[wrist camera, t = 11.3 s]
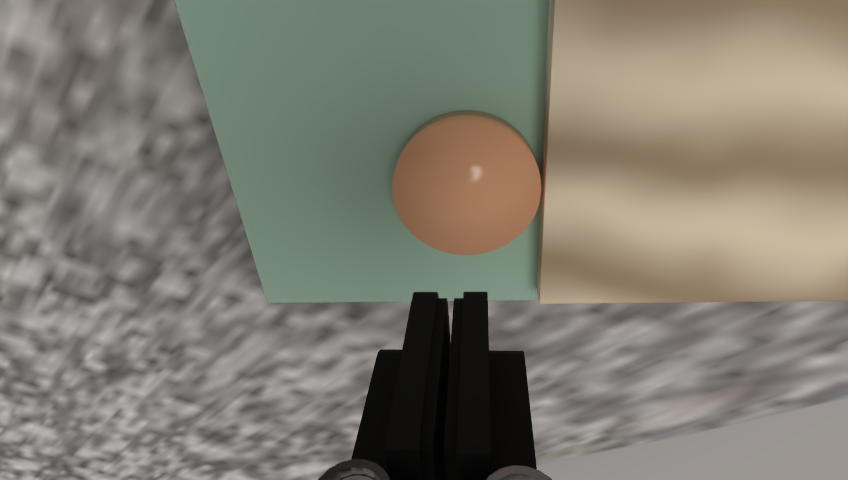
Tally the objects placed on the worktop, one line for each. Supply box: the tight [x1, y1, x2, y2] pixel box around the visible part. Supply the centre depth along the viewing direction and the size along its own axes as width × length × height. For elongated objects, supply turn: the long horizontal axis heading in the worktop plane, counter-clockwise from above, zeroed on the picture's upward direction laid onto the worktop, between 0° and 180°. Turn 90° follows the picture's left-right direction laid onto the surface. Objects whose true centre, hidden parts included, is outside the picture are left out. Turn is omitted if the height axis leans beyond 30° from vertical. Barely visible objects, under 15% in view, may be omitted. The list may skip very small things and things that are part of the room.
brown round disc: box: [392, 110, 541, 255], centre depth 23 cm, size 7×7×2 cm
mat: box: [174, 0, 549, 303], centre depth 24 cm, size 18×16×1 cm
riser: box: [536, 0, 848, 304], centre depth 21 cm, size 16×18×2 cm
